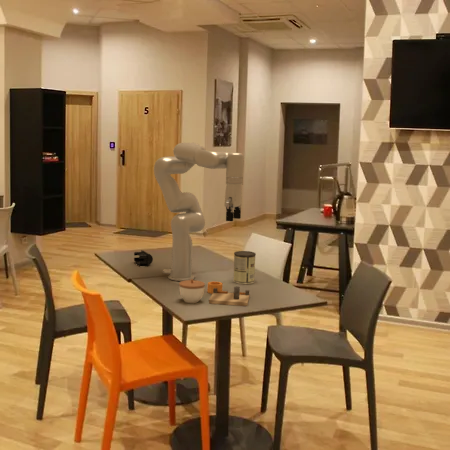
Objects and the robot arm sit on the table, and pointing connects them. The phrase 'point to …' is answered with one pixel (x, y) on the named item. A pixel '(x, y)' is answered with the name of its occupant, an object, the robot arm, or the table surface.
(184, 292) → the lidded jar
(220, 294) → the wooden peg board
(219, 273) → the table surface
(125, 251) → the table surface
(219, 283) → the orange short cylinder
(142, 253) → the end cap
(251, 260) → the coffee can
